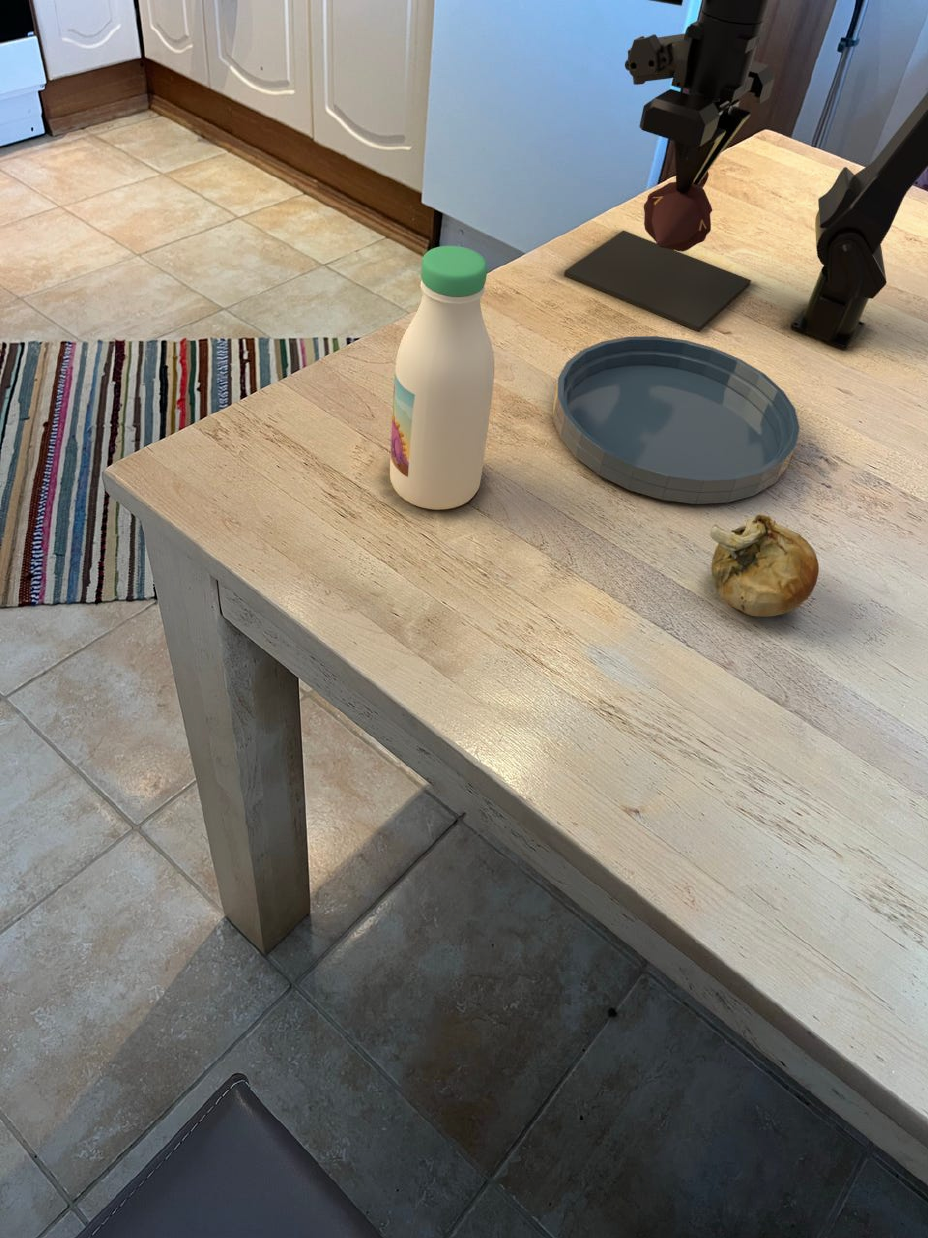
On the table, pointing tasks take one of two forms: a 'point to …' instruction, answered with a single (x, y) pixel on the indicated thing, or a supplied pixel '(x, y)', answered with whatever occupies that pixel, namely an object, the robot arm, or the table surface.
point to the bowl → (674, 419)
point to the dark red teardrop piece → (678, 216)
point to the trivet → (659, 279)
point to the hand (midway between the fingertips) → (687, 187)
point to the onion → (763, 567)
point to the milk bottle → (443, 385)
